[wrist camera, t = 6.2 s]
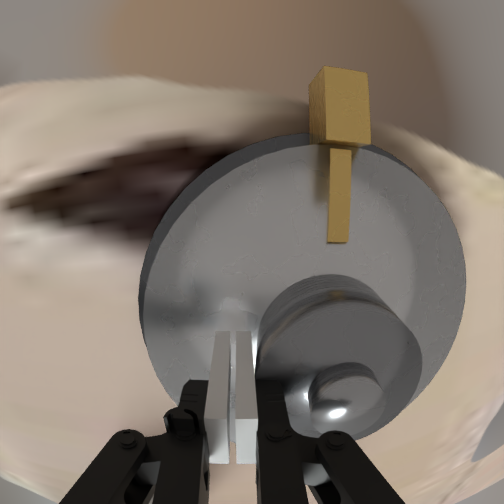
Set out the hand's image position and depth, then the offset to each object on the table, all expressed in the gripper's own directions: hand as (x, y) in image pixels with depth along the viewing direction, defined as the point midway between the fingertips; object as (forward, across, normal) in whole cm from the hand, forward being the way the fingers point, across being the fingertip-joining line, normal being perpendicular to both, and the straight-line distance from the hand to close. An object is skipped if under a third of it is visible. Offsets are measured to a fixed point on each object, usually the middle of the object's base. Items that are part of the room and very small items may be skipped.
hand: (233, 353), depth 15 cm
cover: (+1, +5, 0) cm, 5 cm away
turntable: (+4, +6, +2) cm, 7 cm away
